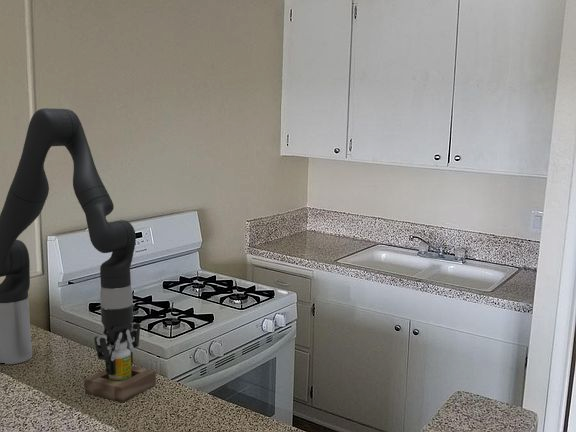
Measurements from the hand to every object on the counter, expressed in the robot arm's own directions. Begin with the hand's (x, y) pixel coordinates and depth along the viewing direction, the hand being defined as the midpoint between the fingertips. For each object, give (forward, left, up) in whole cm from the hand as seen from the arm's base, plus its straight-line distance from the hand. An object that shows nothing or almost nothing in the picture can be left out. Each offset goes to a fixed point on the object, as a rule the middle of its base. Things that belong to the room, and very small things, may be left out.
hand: (119, 370), depth 163 cm
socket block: (0, 0, -5) cm, 5 cm away
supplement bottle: (0, 0, -3) cm, 3 cm away
